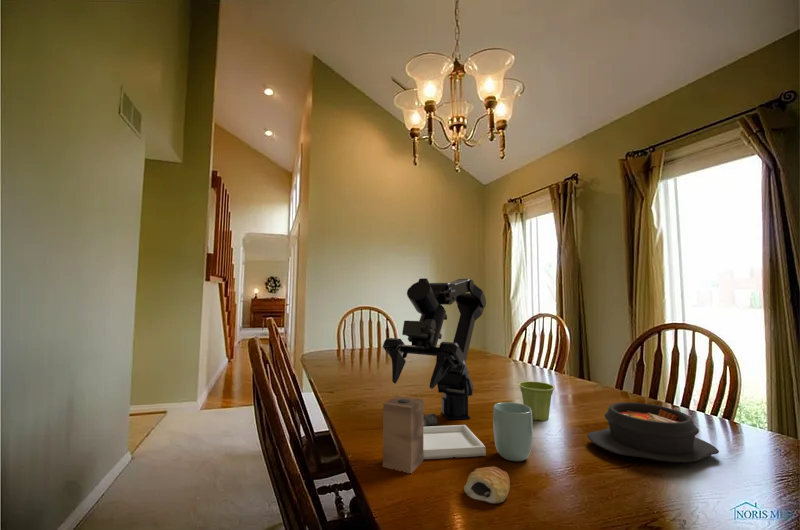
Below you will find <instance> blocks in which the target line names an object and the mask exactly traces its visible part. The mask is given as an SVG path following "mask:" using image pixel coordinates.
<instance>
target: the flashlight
mask: <svg viewBox="0 0 800 530" xmlns="http://www.w3.org/2000/svg"><path fill="white" fill-rule="evenodd" d="M437 424H438V418H437V415H436V414H435V413H434V412H433V413H427V414H423V427H428V426H437Z"/></svg>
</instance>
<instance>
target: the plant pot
mask: <svg viewBox="0 0 800 530" xmlns="http://www.w3.org/2000/svg"><path fill="white" fill-rule="evenodd" d="M518 386H519V388H520V392H521V395H522V402H523V403H522V404H523V405H526V406H529V407H530V408H531V410H532V421H537V420H539V421H541V422H543V421H548V420H549V419H550V411H551V402H552V395H553V393H554V390H555V386H554V385H553V384H550V383H548V382H543V381H532V380H530V381H527V380H526V381H521V382H519V383H518Z"/></svg>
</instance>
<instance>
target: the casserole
mask: <svg viewBox="0 0 800 530" xmlns="http://www.w3.org/2000/svg"><path fill="white" fill-rule="evenodd" d="M604 418H605V419H606V420H607V422H608V425H609V427H608V428H605V429H603V430H596V431H595V430H594V431H591V432H589V433H588V434H587V438H588V440H590V441H591V442H592V443H593V444H594V445H596V446H597V447H600V448H602V449H604V450H606V451H609V452H611V453H613V454H616V455H621V456H627V457H636V458H641V459H645V460H648V459H649V461H654V462H659V461H660V463H661V462H662V463H692V462H696V461H701V460H702V459H705V458H706V457H708V456H712V455H717V454H719V453H720V451H719V449H718V448H717V447H716V446H715V445H712V444H711V443H709V442H707V441H705V440H704V439H701V438H698V437H696V435H698V434H699V432H700V429H699V428H698V427H697V426H696V425H695V423H694V420H693V418H692V417H691V416H690V415H688V414H687V413H684V412H682V411H679V410H677V409H674V408H669V407H665V406H661V405H656V404H650V403H642V402H616V403H612V404H610V405H609V407H608V410H607V411H606V412H605V413H604Z"/></svg>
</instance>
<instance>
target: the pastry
mask: <svg viewBox="0 0 800 530" xmlns="http://www.w3.org/2000/svg"><path fill="white" fill-rule="evenodd" d="M466 479H467V481H466V484H465V485H464V486H463V490H464V492H465V494H466V495H467V496H468V497H469V498H471V499H474V500H476V501H477V500H478V501H481V502H486V503H489V504H493V505H495V504H501V503H503V502H505V500H506V499H507V498H508V495H509V492H510V489H511V488H510V487H511V483H510V476H509V474H508V472H507V471H505V470H503V469H501V468H499V467H497V466H485V467H477V468H475V469H474V471H472V472H470V473H469V474H468V476H467V478H466Z"/></svg>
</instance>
